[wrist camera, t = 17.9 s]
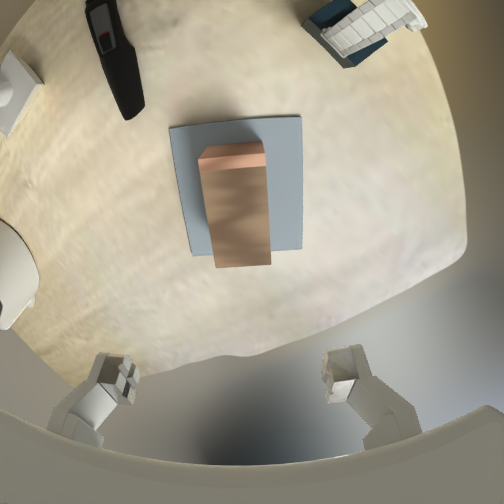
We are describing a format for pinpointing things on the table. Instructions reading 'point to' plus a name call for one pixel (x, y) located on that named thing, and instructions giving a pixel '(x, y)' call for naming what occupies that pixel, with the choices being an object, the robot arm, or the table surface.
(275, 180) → the slate pad
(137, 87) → the electric trimmer
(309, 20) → the watch
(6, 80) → the white peg stand
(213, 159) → the walnut block
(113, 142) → the table surface
